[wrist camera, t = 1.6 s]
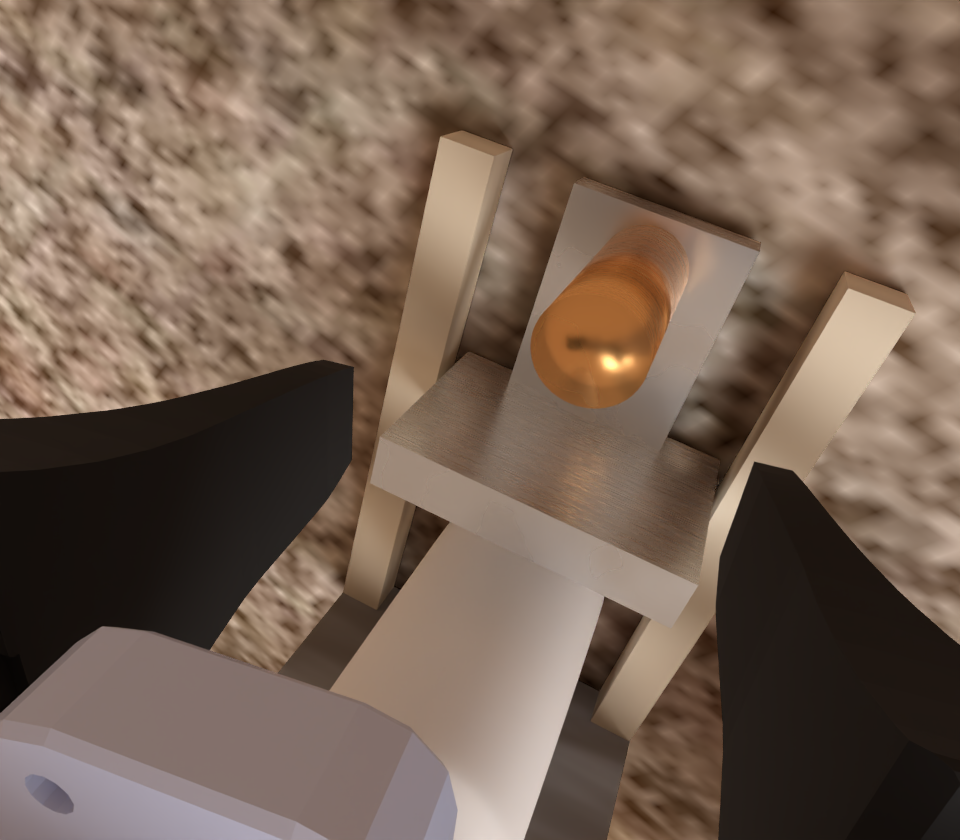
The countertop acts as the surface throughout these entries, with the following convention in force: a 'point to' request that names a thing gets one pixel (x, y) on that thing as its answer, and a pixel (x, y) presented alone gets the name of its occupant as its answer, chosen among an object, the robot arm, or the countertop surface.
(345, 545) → the countertop surface
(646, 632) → the press frame
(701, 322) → the press jaw
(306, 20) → the countertop surface
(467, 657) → the can
